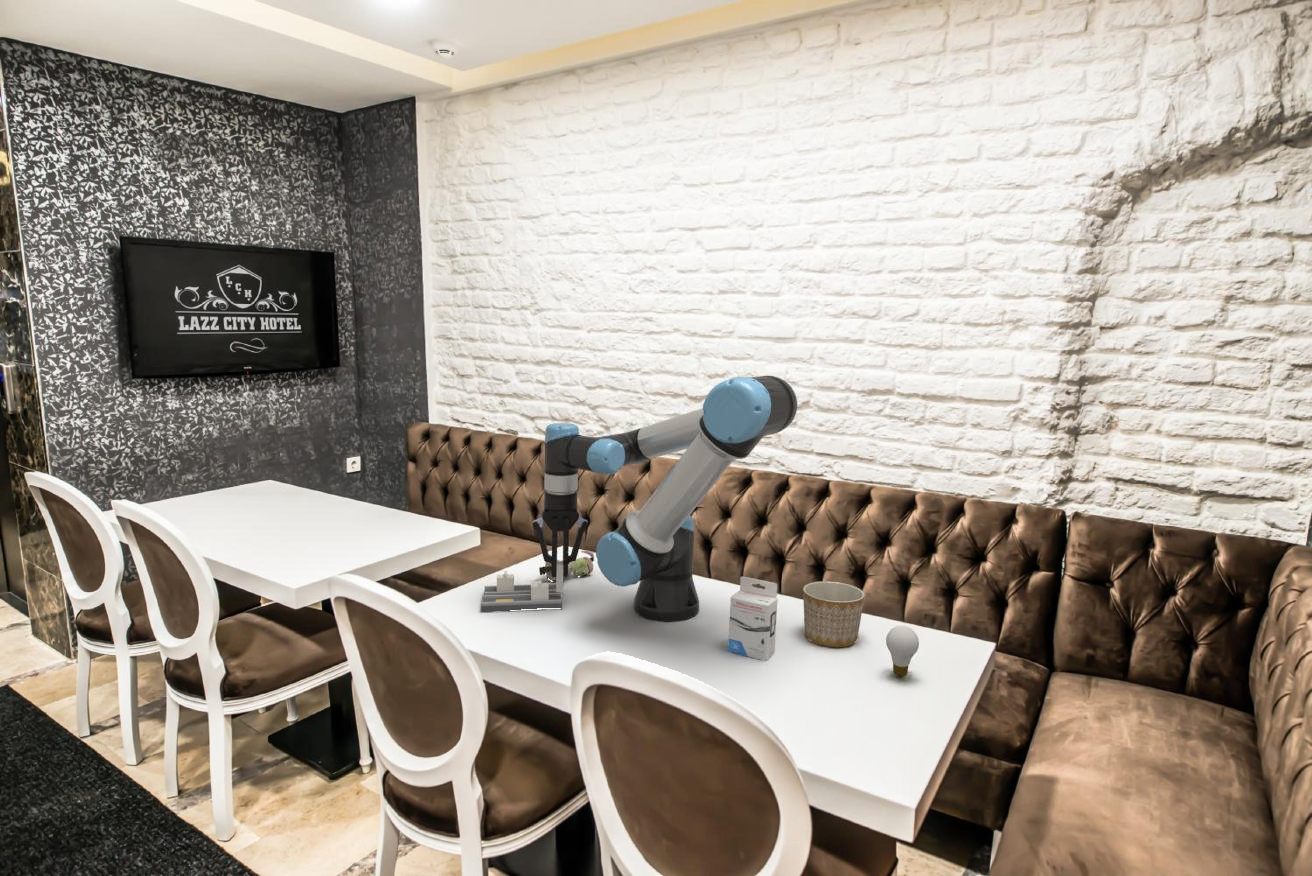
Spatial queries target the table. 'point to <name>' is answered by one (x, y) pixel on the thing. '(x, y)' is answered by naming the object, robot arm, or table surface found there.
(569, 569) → the figurine
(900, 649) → the light bulb
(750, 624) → the ink box
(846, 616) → the planter
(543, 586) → the tab
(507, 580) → the tab
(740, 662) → the table surface
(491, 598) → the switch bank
